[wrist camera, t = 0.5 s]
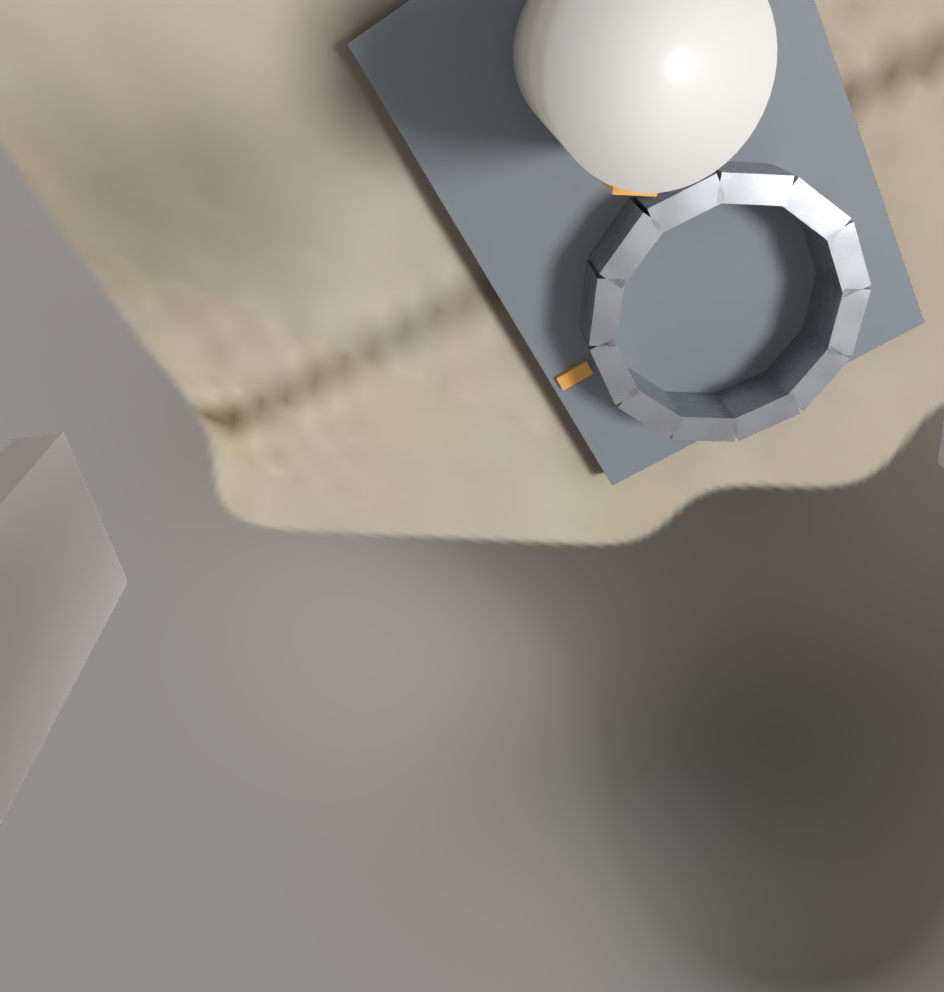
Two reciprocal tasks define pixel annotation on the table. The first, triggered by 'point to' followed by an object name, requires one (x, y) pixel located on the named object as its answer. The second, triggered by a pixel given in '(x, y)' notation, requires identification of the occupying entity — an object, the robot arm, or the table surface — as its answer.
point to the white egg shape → (647, 84)
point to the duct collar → (797, 366)
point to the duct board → (591, 209)
